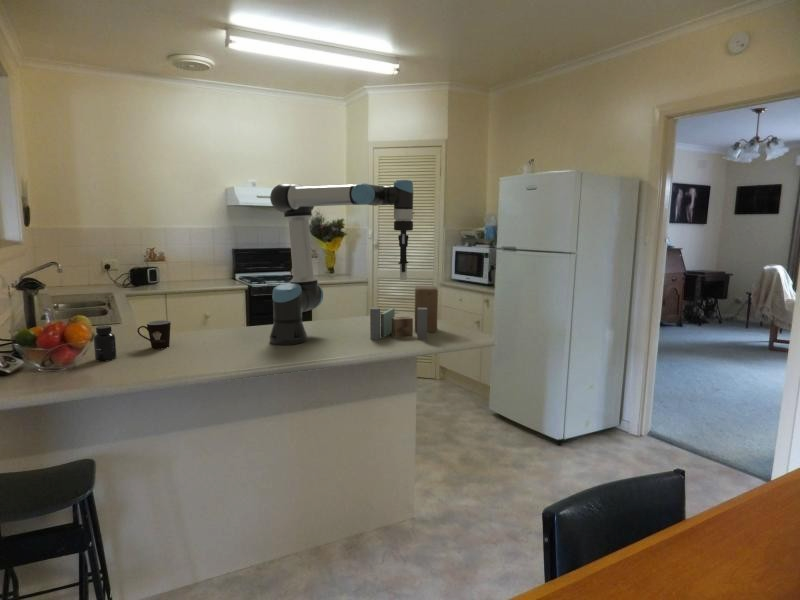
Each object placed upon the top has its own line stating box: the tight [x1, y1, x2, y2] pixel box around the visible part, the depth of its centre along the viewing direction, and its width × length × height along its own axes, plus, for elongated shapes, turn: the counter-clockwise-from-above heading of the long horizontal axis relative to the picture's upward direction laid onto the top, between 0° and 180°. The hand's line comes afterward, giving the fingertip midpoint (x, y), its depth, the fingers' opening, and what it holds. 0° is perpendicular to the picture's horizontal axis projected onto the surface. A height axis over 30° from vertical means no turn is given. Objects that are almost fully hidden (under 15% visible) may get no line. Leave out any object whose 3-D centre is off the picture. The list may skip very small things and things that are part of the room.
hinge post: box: [369, 306, 381, 340], centre depth 218 cm, size 4×4×13 cm
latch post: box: [416, 308, 428, 340], centre depth 218 cm, size 4×4×13 cm
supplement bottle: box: [93, 325, 117, 362], centre depth 186 cm, size 7×7×12 cm
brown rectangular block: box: [391, 316, 414, 339], centre depth 223 cm, size 8×5×8 cm, turn 108°
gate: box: [380, 307, 396, 338], centre depth 225 cm, size 15×1×10 cm, turn 162°
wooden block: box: [414, 285, 439, 334], centre depth 232 cm, size 10×10×20 cm
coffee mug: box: [137, 319, 172, 350], centre depth 203 cm, size 12×9×10 cm
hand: (403, 279), depth 205 cm, fingers closed
